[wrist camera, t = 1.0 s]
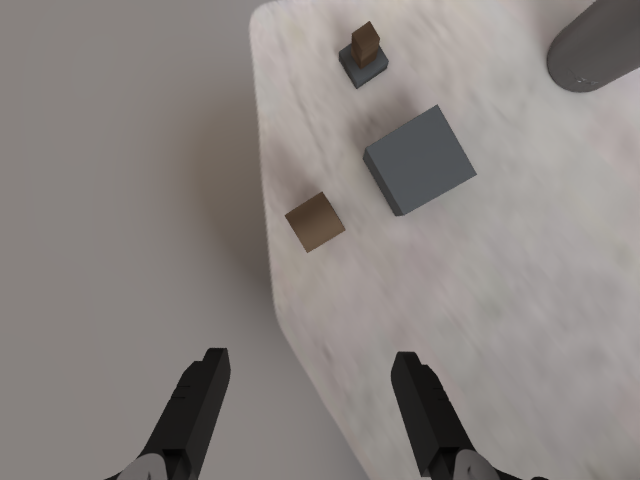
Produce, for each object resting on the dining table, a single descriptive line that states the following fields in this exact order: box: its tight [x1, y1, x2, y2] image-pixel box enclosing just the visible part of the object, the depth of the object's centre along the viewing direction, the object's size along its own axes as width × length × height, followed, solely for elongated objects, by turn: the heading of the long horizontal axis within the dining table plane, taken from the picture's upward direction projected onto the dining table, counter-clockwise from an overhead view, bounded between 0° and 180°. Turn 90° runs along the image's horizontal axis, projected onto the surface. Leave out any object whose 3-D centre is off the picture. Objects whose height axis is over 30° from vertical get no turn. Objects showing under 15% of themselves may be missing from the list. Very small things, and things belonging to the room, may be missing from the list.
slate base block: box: [363, 104, 477, 216], centre depth 31 cm, size 10×10×5 cm
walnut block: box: [285, 192, 345, 253], centre depth 30 cm, size 5×5×10 cm
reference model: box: [339, 21, 389, 89], centre depth 31 cm, size 5×5×5 cm
